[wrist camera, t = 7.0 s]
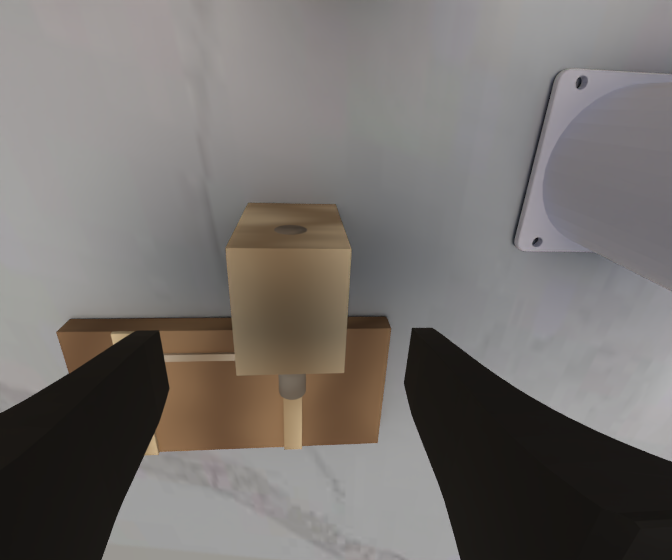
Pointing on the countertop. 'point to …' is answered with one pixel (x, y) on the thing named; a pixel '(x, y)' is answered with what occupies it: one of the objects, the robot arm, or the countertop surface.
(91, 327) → the walnut board
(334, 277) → the pale wood holed block
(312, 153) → the countertop surface
